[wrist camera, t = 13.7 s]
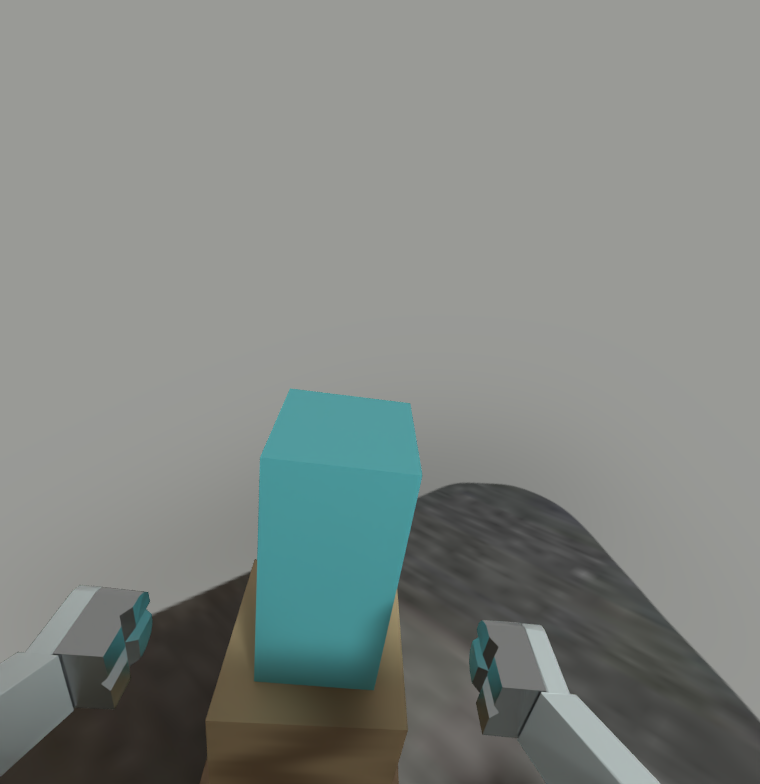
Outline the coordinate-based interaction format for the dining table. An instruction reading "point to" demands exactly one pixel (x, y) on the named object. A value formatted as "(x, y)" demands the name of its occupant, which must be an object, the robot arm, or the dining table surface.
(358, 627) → the teal pillar
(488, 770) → the dining table surface
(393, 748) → the oak top block
